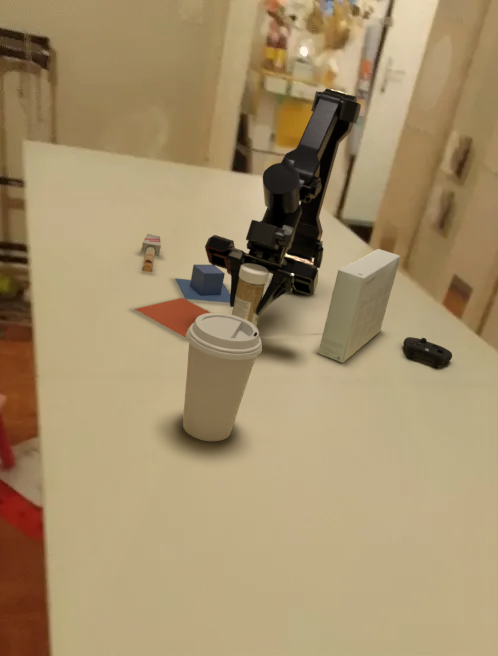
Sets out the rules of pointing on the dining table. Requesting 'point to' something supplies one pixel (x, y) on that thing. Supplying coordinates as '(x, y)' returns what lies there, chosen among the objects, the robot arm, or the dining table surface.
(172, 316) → the terracotta mat
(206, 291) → the blue block
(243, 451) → the dining table surface
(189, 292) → the blue mat
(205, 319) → the coffee cup
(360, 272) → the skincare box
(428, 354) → the game controller
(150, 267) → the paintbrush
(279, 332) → the dining table surface
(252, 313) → the sprinkles bottle
